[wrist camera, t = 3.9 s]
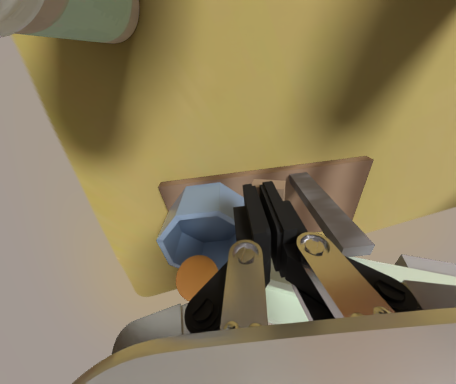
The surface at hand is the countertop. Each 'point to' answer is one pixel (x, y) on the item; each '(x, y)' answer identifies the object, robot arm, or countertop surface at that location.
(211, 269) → the orange ball
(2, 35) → the coffee cup
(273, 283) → the tipping tray
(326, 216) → the stand
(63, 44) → the countertop surface
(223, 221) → the blue cup
